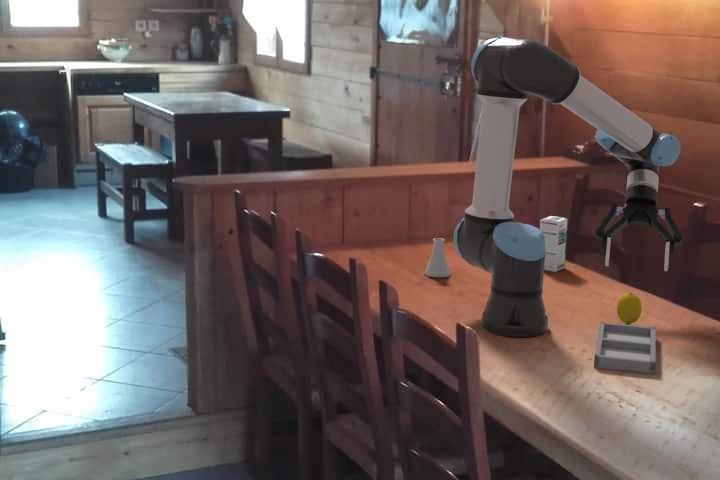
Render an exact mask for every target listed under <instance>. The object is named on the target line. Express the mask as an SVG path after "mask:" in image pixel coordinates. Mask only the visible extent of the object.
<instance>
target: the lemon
mask: <svg viewBox="0 0 720 480" xmlns="http://www.w3.org/2000/svg"><path fill="white" fill-rule="evenodd" d="M642 307H643V306H642V302H641V299H640V297H639V296H638V295H637V294H635V293H633V292H632V291H629V292H627V293H624V294H623V295H621V296H620V297H619V299H618V302H617V305H616V314H617V316H618V318H619V320H620V321H621V322H622V323H624V324H625V325H632V324H633V323H636V322H637V321H638V320H639V319H640V317H641V315H642V310H643V309H642Z"/></svg>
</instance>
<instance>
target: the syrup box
mask: <svg viewBox="0 0 720 480" xmlns="http://www.w3.org/2000/svg"><path fill="white" fill-rule="evenodd" d="M539 229H540V230H541V231H542V232H543V234H544V236H545V246H546V252H545V261H544V271H547V272H554V273H557V272H558V271H561V270H563V269H565V268H566V258H567V240H568V239H567V237H568V235H567V234H568V218H566V217H562V216H554V215H549V216H547V217H545V218H541V219H540V220H539Z"/></svg>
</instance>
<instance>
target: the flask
mask: <svg viewBox="0 0 720 480" xmlns="http://www.w3.org/2000/svg"><path fill="white" fill-rule="evenodd" d="M432 242H433V247H432V253H431V254H430V257H429V261H428V263H427V266H426V268H425V271H424V275H426V276H427V277H429V278H448V277H450V276H451V271H450V267H449V264H448V261H447V258H446V254H445V251H444V250H445V249H444V242H445V239H444V238H440V237H437V238H433V239H432Z"/></svg>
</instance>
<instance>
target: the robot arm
mask: <svg viewBox="0 0 720 480" xmlns="http://www.w3.org/2000/svg"><path fill="white" fill-rule="evenodd" d="M470 69H471V75H472V77H473V78H474V81H475V82H476V83H477V91H476V93H477V95H476V96H477V97H478V98H479V100H480V101H481V102H482V108H481V109H482V110H481V118H480V127H479V135H478V136H479V137H478V144H477V145H478V146H477V155H476V165H475V166H476V167H475V175H474V183H473V184H474V185H473V192H472V201H471V202H472V203H471V204H470V205H469V206H467V208H465V210H464V217H463V218H462V219H460V222H459V223H458V224H456V227H455V229H454V232H453V245H454V249H455V250H456V253H457V255H458V256H460V258H461V259H463V260H464V261H465V262H466V263H468V265H471V266H472V267H475V268H478V269H481V270H483V271H484V272H487V273H489V274H491V276H490V277H491V278H490V279H491V281H490V283H491V284H490V294H489V296H488V299H487V302H486V305H485V308H484V310H483V312H482V314H481V327H482V329H484V330H486V331H488V332H489V333H491V334H495V335H499V336H503V337H509V338H510V337H511V338H532V337H536V336H541V335H543V334H545V333H546V332H547V331H548V329H549V318H548V315H547V313H546V308H545V302H544V299H543V287H544V274H545V273H544V272H545V270H544V261H545V252H546V246H545V236H544V234H543V232H542V231H541V230H540V228H538V227H536V226H534V225H531V224H528V223H522V222H520V221H519V222H518V221H514V218H515V215H514V213H513V212H512V210H511V209H510V207H509V206H510V197H511V196H510V195H511V187H512V181H513V178H512V177H513V171H514V161H515V151H516V143H517V137H518V136H517V134H518V128H519V127H518V124H519V118H520V108H521V106H522V105H523V104H524V103H525V102H526V101H528V98H529V97H528V96H529V95H533V96H537V97H539V98H542V99H544V100H546V101H547V102H548V103H550V104H552V105H561V106H562V107H564V108H565V109H567V110H568V111H570V112H571V113H573V114H574V115H576V116H578V117H579V118H581V119H582V120H584V121H585V122H586V123H588V124H589V125H591V126H593V127H594V128H596V129H597V130H596V133H595V140H596V142H597V143H598V145H600V146H601V147H602V148H603V150H606V151H607V152H608V153H609V154H610V155H612V156H613V157H615V158H616V159H617V160H618V161H620V162H621V163H622V164H624V166H627V179H626V192H625V201H624V202H625V203H624V206H618V204H616V203H613V204H612V205H611V208H610V212H609V213H608V214H607V215H606V217H605V218H604V220H602V222H601V224H600V225H599V227H597V228H596V230H595V239H596V240H601V252H602V253H603V254H604V253H605V261H604V263H605V264H604V266H605V267H609V265H610V264H609V263H610V262H609V261H610V252H611V244H612V243H611V240H612V238H613V237H615V236H616V235H617V234H618V233H619V232H620V231H622V230H623V229H624V228H627V227H628V226H629V225H632V226H641V227H647V226H649V227H650V229H652V230H654V231H655V233H657V235H658V236H659V237H660V238H661V239H662V240H663V241H664V243H665V250H664V252H665V253H664V264H663V265H664V268H663V271H664V272H668V269H669V262H670V261H669V260H670V259H673V258H674V256H675V247H678V246H679V247H681V246H682V244H683V239H684V238H683V236H682V234H681V232H680V230H679V228H678V227H677V225H676V223H675V221H674V219H673V217H672V216H671V209H670V208H669V206H667V207H665V208H664V209H659V208H658V191H659V182H660V181H659V173H660V172H659V171H660V167H661V166H662V167H668V166H671V165H673V164H674V163H675V162H676V161H677V160H678V158H679V156H680V153H681V143H680V141H679V139H678V138H677V137H676V136H674V135H672V134H669V133H667V132H661V131H659V130H658V129H657V128H655V127H654V126H652V125H650V124H649V123H647V121H644V119H642V118H641V117H639V116H638V115H637V114H635V113H634V112H632V111H631V110H630V109H628V108H627V107H626V106H624V105H622V104H621V103H620V102H618V101H617V100H616V99H614V98H613V97H612V96H610V95H609V94H607V93H606V92H604V91H603V90H602V89H601V88H599V87H597V86H596V85H595V84H593V83H592V82H590V81H589V80H588V79H586V78H584V77H583V76H582V75H581V71H580V69H579V67H578V66H576V65H575V64H573V63H572V62H571V61H569V60H568V59H567V58H565V57H564V56H563V55H561V54H560V53H558V52H557V51H555V50H554V49H552V48H551V47H549V46H548V45H546V44H544V43H542V42H541V41H538V40H533V39H528V38H527V39H526V38H525V39H521V38H512V37H506V36H504V37H493V38H489V39H487V40H486V41H484V42H482V43H481V45H479V46H478V47H477V49H476V50H475V51H474V53H473V55H472V59H471V64H470ZM621 213H622V214H623V216H622V218H621V219H620V220H617V222H616V223H614V224H613V225H612V226H611V227H610V225H611V224H612V223H613V222H614V220H615V219H616V216H619V215H620V214H621ZM658 216H660V218H661V219H662V220H664V223H665V225H666V227H667V228H668V230H667V229H666V228H665V227H664V225H662V224H661V222H660V221H659V220H658V218H657V217H658ZM609 227H610V228H609ZM668 231H669V232H668Z"/></svg>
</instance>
